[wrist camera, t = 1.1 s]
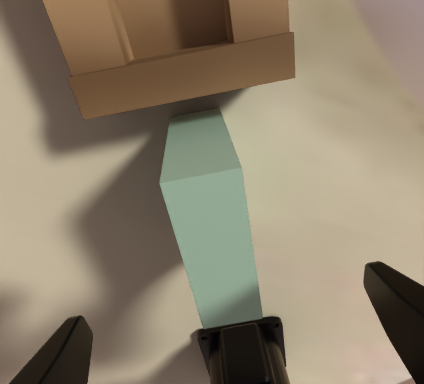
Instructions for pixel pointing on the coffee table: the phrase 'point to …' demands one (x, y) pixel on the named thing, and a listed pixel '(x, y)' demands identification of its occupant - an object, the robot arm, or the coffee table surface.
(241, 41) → the track
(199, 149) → the pale green block
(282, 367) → the robot arm
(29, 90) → the coffee table surface
